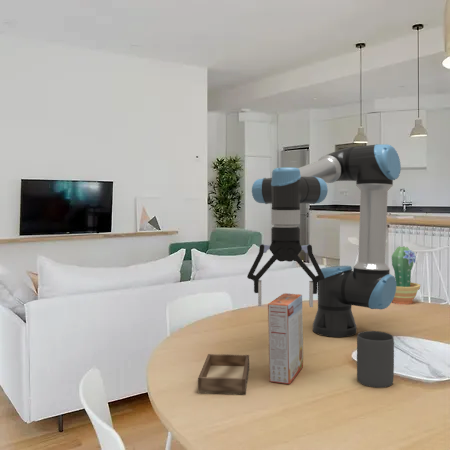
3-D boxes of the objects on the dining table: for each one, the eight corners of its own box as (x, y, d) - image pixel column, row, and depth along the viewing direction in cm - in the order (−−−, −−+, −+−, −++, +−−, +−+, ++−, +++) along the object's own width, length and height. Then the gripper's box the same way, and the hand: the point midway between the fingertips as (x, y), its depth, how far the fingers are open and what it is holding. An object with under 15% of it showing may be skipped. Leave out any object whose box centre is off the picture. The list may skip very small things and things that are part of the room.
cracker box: (283, 365, 141) (282, 292, 140) (303, 367, 139) (303, 293, 138) (267, 382, 129) (266, 302, 127) (289, 385, 126) (289, 304, 125)
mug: (395, 389, 123) (396, 341, 122) (357, 386, 125) (357, 339, 124) (389, 370, 136) (390, 327, 136) (355, 368, 138) (355, 325, 138)
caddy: (249, 368, 139) (249, 354, 139) (245, 394, 121) (245, 379, 120) (208, 367, 140) (208, 354, 140) (198, 393, 122) (198, 378, 122)
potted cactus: (387, 305, 217) (387, 248, 215) (381, 298, 232) (382, 244, 230) (424, 306, 214) (425, 248, 213) (416, 298, 229) (417, 244, 228)
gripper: (331, 225, 134) (331, 303, 135) (239, 225, 136) (239, 301, 137) (335, 227, 127) (334, 309, 128) (237, 226, 129) (237, 307, 130)
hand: (285, 305), depth 133 cm, fingers open, 13 cm apart
